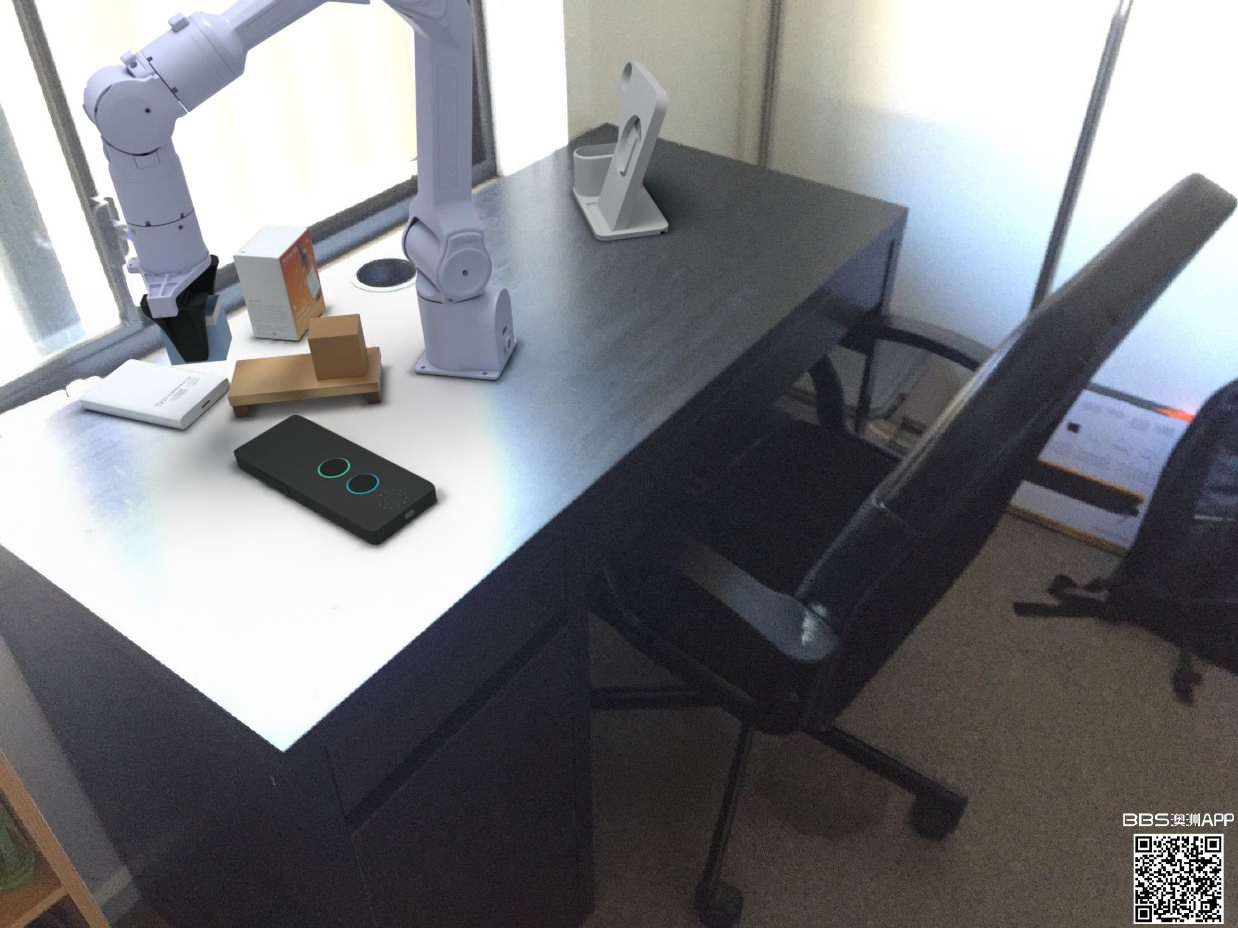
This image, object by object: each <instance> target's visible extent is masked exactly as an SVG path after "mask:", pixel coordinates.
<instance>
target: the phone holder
mask: <svg viewBox="0 0 1238 928" xmlns="http://www.w3.org/2000/svg"><path fill="white" fill-rule="evenodd" d="M668 105H669V96H668V93H667V91H666V90H665V88H663V86H662V85H661V84H660V83H659V82H658V80H657V79H656V77H654V76H653V75H652V73H651V72H650V71H649V69H647V68H646V67H645V66H644V64H643V63H642V62H639V61H636V60H632V59H628V60H627V61H626V62H625V64H624V66H623V68H622V71H621V74H620V77H619V80H618V85H617V107H618V108H617V109H618V110H617V112H618V113H617V114H618V138H617V142H612V143H604V144H595V145H585V146H580V147H578V148H576V149H575V150H574V151H573V152H572V153H573V154H572V156H573V175H574V186H573V188H572V194H573V197H574V199H575V200H576V202H577V205H578V206H579V208H580V210H581V212H582V214H583V216H584V218H585V219H586V222H587V225H588V226H589V227H590V229H591V232H592V234H593V236H594V237H595V239H596V240H598V241H601V242H602V241H603V242H609V241H616V240H623V239H624V240H625V239H633V238H640V237H647V236H654V235H661V232H664V233H667V232H668V231H669V222H668V221H667V219H666V218H665V216H664V215H663V213H662V211H661V210H660V209H659V208H658V206H657V204H656V203H655V201H654V200H653V197H651V195H650V194H649V191H647V189H646V187H645V186H644V177H645V175H646V171H647V169H648V165H649V163H650V161H651V157H652V154H653V151H654V149H655V146H656V143H657V140H658V137H659V134H660V131H661V129H662V125H663V123H664V120H665V117H666V114H667V110H668Z"/></svg>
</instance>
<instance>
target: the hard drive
mask: <svg viewBox="0 0 1238 928" xmlns="http://www.w3.org/2000/svg"><path fill="white" fill-rule="evenodd" d="M230 386H231V383H230V379H229V378H228V377H224V376H220V375H215V374H210V373H206V372H200V371H195V370H190V369H185V368H180V367H175V366H170V365H166V364H159V363H154V362H149V361H144V360H139V359H134V358H130V359H128V360H126V361H125V362H124V363H122V364H121V365H120V366H119V367H117V368H116V369H115V370H113V371H112V372H111V373H109V374H108V375H107V376H105V377H104V378H103V379H101V380H100V381H99V382H98V383H97V384H95V385H94V386H92V387H91V388H90V389H88V390H87V391H86V392H85V393H84V394H83V395H81V396H80V397H79V401H80V404H81V407H82V408H83V409H84V410H89V411H93V412H99V413H102V414H103V413H104V414H108V415H113V416H116V417H121V418H126V419H132V420H135V421H140V422H144V423H145V422H146V423H150V424H154V425H160V426H163V427H168V428H169V427H170V428H174V429H180V430H185V429H187V428H188V427H190V425H191V424H193V423H194V422H195V421H196V420H197V419H198V418H199V417H200V416H201V415H203V414H204V413H205V412H206V411H207V410H209V408H211V406H213V405H214V404H215V403H216V402H217V401H218V400H219V399H220V398H222V396H224V395H225V394H226V393H227V392H229V390H230Z"/></svg>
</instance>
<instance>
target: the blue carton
mask: <svg viewBox="0 0 1238 928" xmlns="http://www.w3.org/2000/svg"><path fill="white" fill-rule="evenodd" d="M226 314H227V313H226V310H225V308H224V305H223V300H222V296H221V294H218V293H217V294H215V295H208V299H207V303H206V313H205V321H206V331H207V338H208V345H209V357H208V360H207V361H199V362H189V363H186V362H185V361H184V360H183V358H182V357H181V356H180V354H179V353H178V351H177V350H176V348H175V346H174V345H173V343H172V342H171V340H170V339H169V338H168V336H167V335H166V334H165V332H164V331H163V330H162V329H161V328H160V327H159V326H158V325H157V327H158V331H159V332H160V335H161V338H162V342H163V344H164V348H165V350H166V353H167V356H168V359H169V363H170V364H171V367H174V366H182V365H192V364H193V365H195V364H202V363H215V362H225V361H227V360H228V355H229V351H230V348H231V345H232V340H233V336H232V332H231V329H230V325H229V322H228V318H227V315H226Z"/></svg>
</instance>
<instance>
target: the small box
mask: <svg viewBox="0 0 1238 928" xmlns="http://www.w3.org/2000/svg"><path fill="white" fill-rule="evenodd" d="M232 259H233V262H234V266H235V270H236V273H237V276H238V280H239V284H240V288H241V292H242V295H243V300H244V303H245V306H246V310H247V314H248V318H249V321H250V325H251V329H252V332H253V336H254V338H261V339H275V340H286V341H299V340H301V338H302V337H303V335H304V334H305V333H306V331H307V330H309V325H310V319H311V318H318V317H320V315H322V314H323V312H325V310H326V308H327V306H326V301H325V298H324V293H323V287H322V283H321V278H320V274H319V270H318V265H317V261H316V256H315V251H314V246H313V242H312V237H311V231H310V228H309V227H304V226H303V227H302V226H289V225H277V224H264V225H263V226H262V227H261V229H260V230H259V231H258V232H257V233H256V234H255V235H253V236H252V237H251V239H249V240H248V241H247V242H246V243H245V244H243V246H242V247H241V248H239V250H238V251H235V252H234V253H233V254H232Z"/></svg>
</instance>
